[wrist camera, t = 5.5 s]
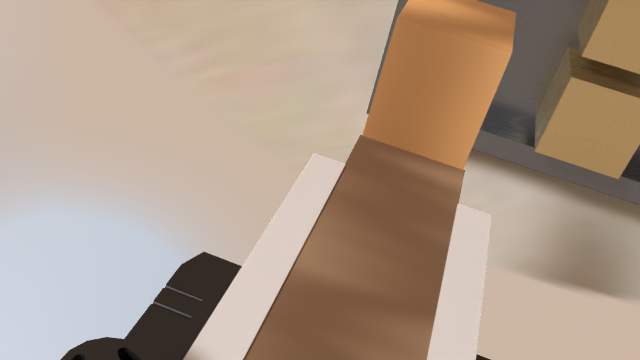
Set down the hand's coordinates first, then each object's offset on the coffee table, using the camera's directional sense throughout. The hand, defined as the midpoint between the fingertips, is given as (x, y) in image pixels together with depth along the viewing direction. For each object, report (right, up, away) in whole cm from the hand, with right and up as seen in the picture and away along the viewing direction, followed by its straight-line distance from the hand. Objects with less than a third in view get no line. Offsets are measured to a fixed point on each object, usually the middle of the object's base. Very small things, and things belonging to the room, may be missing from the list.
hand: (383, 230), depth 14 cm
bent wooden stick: (+1, +2, +4) cm, 5 cm away
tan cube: (+12, +6, +17) cm, 22 cm away
